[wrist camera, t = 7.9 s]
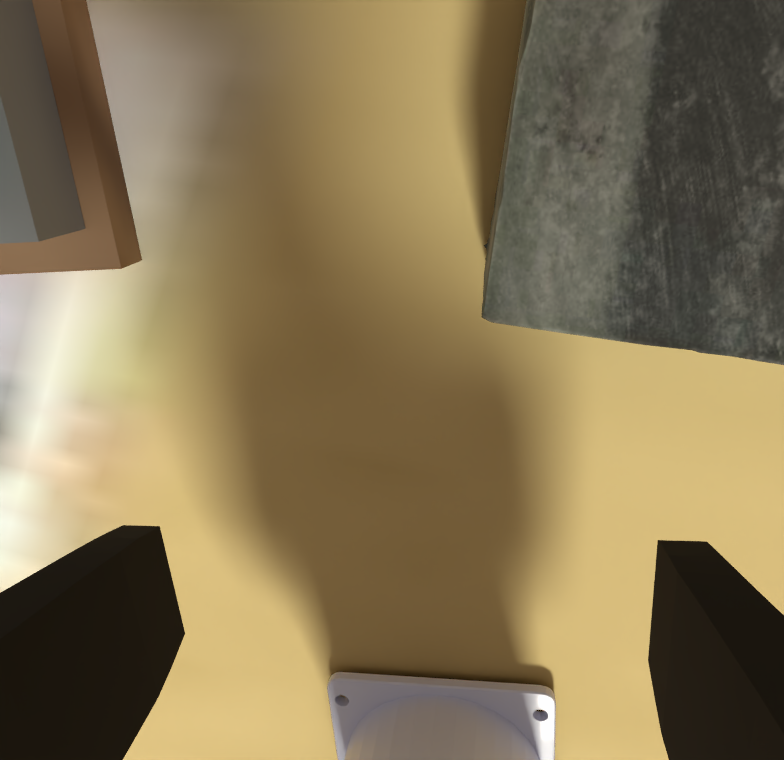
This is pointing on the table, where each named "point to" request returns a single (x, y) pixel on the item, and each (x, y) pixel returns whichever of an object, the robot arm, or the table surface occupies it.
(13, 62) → the tower mid
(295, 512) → the table surface
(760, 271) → the stone block
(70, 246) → the tower base
